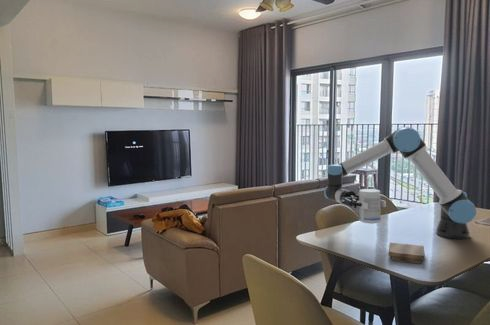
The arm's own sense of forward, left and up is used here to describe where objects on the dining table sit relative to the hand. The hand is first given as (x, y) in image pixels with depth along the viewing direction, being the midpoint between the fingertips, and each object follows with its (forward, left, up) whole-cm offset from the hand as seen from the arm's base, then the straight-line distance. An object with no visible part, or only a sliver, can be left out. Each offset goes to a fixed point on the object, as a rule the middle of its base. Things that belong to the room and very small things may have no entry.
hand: (376, 205), depth 167 cm
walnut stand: (-13, +3, -22) cm, 26 cm away
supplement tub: (+3, -3, -9) cm, 10 cm away
